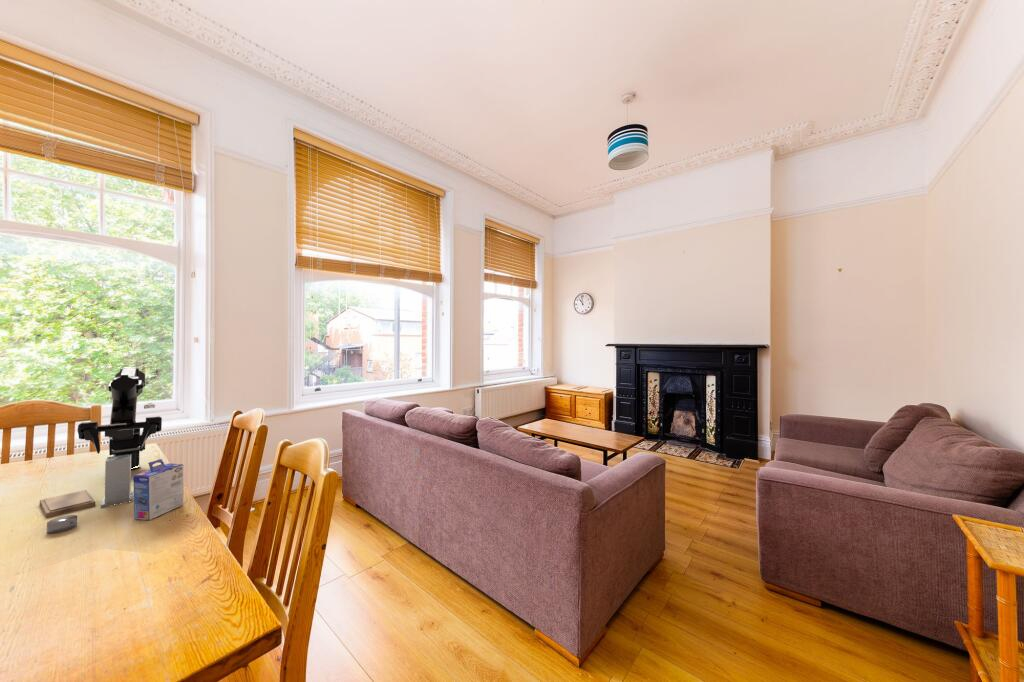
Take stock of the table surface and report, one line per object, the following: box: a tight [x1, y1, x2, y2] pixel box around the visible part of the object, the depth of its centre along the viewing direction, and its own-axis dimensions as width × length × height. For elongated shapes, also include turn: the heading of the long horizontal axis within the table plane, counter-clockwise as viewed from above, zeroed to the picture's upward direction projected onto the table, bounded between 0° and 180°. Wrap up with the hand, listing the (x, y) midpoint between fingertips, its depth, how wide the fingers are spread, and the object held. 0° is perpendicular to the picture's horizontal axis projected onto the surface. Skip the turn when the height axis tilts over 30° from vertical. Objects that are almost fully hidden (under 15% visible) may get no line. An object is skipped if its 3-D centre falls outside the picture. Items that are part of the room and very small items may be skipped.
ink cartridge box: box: [132, 458, 184, 521], centre depth 107 cm, size 10×6×14 cm, turn 174°
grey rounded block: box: [46, 514, 78, 535], centre depth 96 cm, size 5×5×2 cm
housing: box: [100, 454, 134, 508], centre depth 112 cm, size 6×6×13 cm
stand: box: [39, 489, 97, 518], centre depth 109 cm, size 9×13×2 cm
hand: (120, 450), depth 118 cm, fingers open, 9 cm apart
